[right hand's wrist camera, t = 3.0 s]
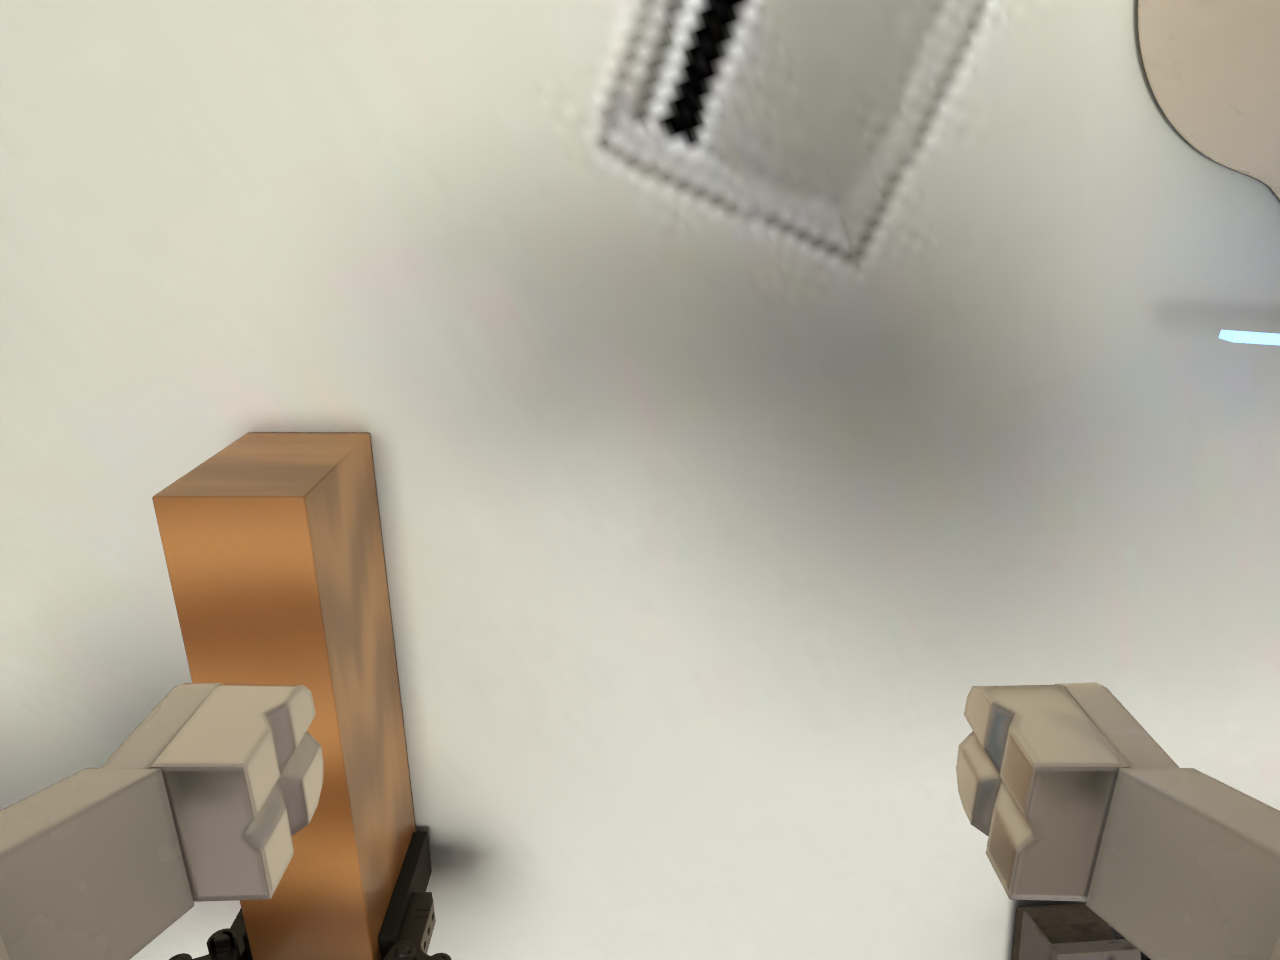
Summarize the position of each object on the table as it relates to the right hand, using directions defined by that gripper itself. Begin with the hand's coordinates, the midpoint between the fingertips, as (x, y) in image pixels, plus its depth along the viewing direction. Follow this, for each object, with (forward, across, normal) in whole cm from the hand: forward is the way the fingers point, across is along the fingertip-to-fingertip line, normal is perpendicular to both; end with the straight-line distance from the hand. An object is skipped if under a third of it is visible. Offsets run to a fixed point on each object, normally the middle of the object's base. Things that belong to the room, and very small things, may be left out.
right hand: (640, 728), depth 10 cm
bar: (+27, -15, -18) cm, 36 cm away
